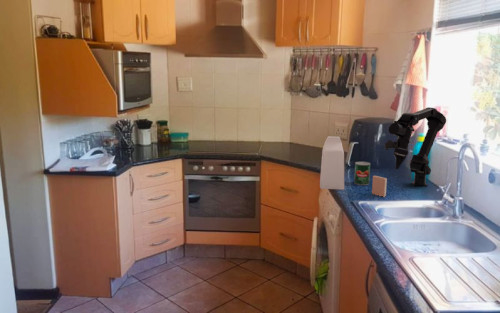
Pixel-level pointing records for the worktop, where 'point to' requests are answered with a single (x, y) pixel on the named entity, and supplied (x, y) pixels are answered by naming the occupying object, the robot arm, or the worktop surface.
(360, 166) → the canned tomato
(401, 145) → the robot arm
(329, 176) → the milk
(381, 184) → the tile
